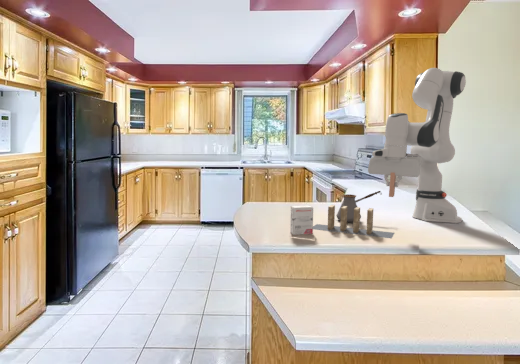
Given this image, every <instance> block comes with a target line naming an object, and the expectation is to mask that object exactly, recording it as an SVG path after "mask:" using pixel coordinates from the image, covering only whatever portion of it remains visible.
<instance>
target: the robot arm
mask: <svg viewBox="0 0 520 364" xmlns="http://www.w3.org/2000/svg"><path fill="white" fill-rule="evenodd" d="M466 83H467V79H466V75H465V74H464V72H462V71H449V70H442V69H441V68H437V67H430V68H428V69H426V70H425V71H424V72H421V73H419V74H418V75H416V78H415V81H414V88H413V90H412V94H411V98H412V101H413V103H415V105H416V106H418V107H420V108H421V109H423V110H427V112H426V117H425V121H424V122H412V121H411V122H410V121H409V116H408V114H407V113H403V112H396V113H392V114H389V115H387V116H388V117H387V119H386V124H385V131H384V136H385V142H384V144H383V145H384V146H383V148H379V149H376V150H374V151H372V154H371V155H372V156H371V158H370V159H369V162H368V168H367V173H368V174H369V175H379V176H380V175H383V176H384V179H385V182H386V187H390V180H389V179H388V178H389V176H390V175H391V172H392V173H395V176H396V177H397V179H398V180H397V181H395V183H394V184H395V185H394V187H395V188H397V187H399V183H400V182H401V180H402V179H403V178H402V177H407V178H409V177H410V178H417V189H416V191H415V206H414V211H413V213H412V217H413V218H415V219H418V220H422V221H425V222H433V223H435V222H437V223H453V224H461V223H462V219H463V218H462V217H461V216H459V215H458V212H457V210H458V209H457V208H456V207H455V206H456V205H454V204H453V203H451V202H450V201H449V200H447V198H446V197H447V195H448V194H447V193H446V192H445V191H443V190H442V189H443V188H442V187H443V175H442V173H441V171H440V170H439V167H438V164H443V163H449V162H451V161H452V160H453V159H454V156H455V154H456V148H455V146H454V145H453V143H452V142H451V137H450V126H451V119H452V116H453V109H454V108H453V107H454V99H455V98H456V97H457V96H459V95H460V94H462V93H463V92H464V89H465V87H466ZM408 146H411V148H410V153H407V150H408Z"/></svg>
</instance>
